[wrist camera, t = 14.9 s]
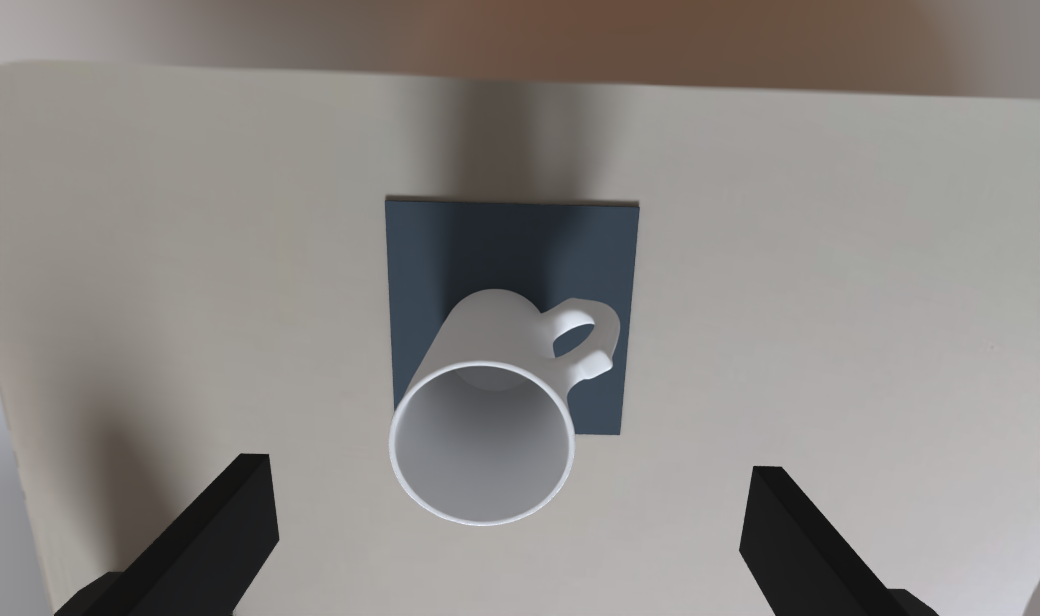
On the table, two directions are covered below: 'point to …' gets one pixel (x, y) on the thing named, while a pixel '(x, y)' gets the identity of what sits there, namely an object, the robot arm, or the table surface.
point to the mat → (512, 280)
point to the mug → (496, 407)
